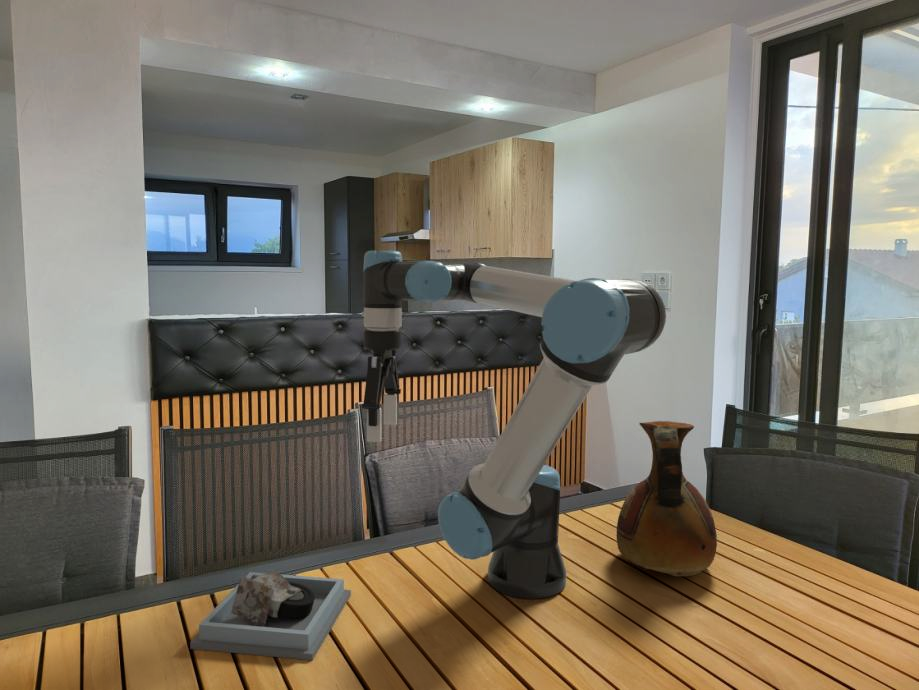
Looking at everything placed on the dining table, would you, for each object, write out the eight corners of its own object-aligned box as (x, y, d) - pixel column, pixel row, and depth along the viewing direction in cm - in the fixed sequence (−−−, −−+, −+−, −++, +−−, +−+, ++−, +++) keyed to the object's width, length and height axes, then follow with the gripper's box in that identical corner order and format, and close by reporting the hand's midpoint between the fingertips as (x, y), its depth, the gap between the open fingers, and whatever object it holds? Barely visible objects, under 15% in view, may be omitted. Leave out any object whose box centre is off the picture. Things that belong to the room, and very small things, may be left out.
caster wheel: (317, 618, 113) (285, 641, 103) (264, 594, 116) (228, 614, 107) (326, 582, 113) (295, 601, 103) (273, 559, 116) (238, 575, 106)
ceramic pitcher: (704, 548, 141) (712, 414, 137) (725, 593, 121) (735, 439, 117) (612, 540, 144) (618, 409, 140) (618, 583, 124) (625, 432, 121)
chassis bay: (350, 595, 118) (350, 577, 118) (312, 660, 98) (312, 638, 98) (247, 586, 121) (247, 569, 120) (190, 648, 101) (189, 627, 101)
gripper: (379, 323, 141) (379, 417, 143) (345, 334, 116) (346, 448, 119) (413, 324, 140) (412, 419, 142) (386, 335, 115) (386, 450, 118)
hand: (382, 432), depth 130 cm, fingers open, 13 cm apart
